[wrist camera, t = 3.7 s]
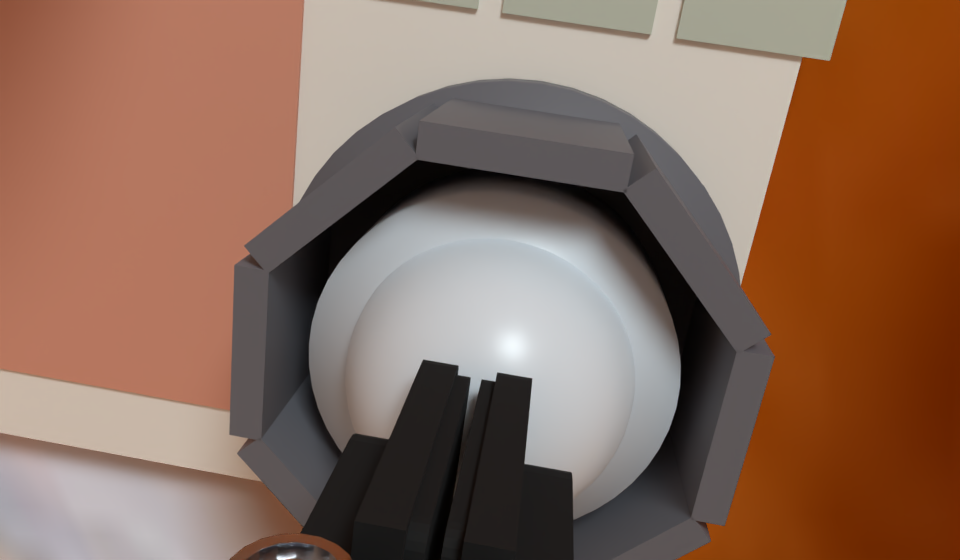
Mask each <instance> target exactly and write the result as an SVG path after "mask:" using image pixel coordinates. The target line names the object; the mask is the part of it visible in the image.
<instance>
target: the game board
mask: <svg viewBox="0 0 960 560" xmlns="http://www.w3.org/2000/svg"><path fill="white" fill-rule="evenodd" d="M846 1H847V0H0V433H4V434H9V435H15V436H20V437H25V438H31V439H36V440H41V441H47V442H52V443H57V444H63V445H68V446H73V447H79V448H84V449H90V450H95V451H100V452H106V453H111V454H116V455H122V456H127V457H132V458H138V459H143V460H148V461H154V462H159V463H164V464H170V465H175V466H180V467H186V468H191V469H196V470H202V471H207V472H212V473H218V474H223V475H228V476H234V477H239V478H244V479H250V480H255V481H261V482H263V483H264V484H265V485H266V486H267V488H268V489H269V490H270V491H271V492H272V493H273V494H274V495H275V496H276V497H277V499H278V500H279V501H280V502H281V503H282V504H283V505H284V506H285V507H286V509H287V510H288V511H289V512H290V513H291V514H292V515H293V516H294V517H295V518H296V520H297V521H298V522H299V523H300V524H301V525H302V526H303V527H304V526H305V524H306V522H307V520H308V518H309V516H310V514H311V512H312V510H313V508H314V506H315V504H316V502H317V501H318V499H319V497H320V495H321V493H322V491H323V489H324V487H325V485H326V483H327V481H328V479H329V477H330V476H331V474H332V472H333V470H334V468H335V466H336V464H337V462H338V460H339V458H340V456H341V454H342V452H341V451H340V449H339V448H338V447H337V445H336V443H335V441H334V440H333V438H332V436H331V435H330V433H329V431H328V430H327V428H326V426H325V423H324V421H323V419H322V416H321V414H320V412H319V409H318V406H317V403H316V399H315V396H314V392H313V389H312V383H311V376H310V369H309V340H310V333H311V326H312V320H313V317H314V314H315V310H316V307H317V303H318V300H319V298H320V296H321V294H322V292H323V289H324V287H325V285H326V283H327V281H328V279H329V278H330V276H331V274H332V273H333V271H334V270H335V268H336V267H337V265H338V264H339V262H340V261H341V260H342V258H343V257H344V256H345V255H346V254H347V253H348V252H349V250H350V249H351V248H352V247H353V246H354V245H355V244H356V243H357V242H358V241H359V239H360V238H361V237H362V236H363V235H364V234H365V233H366V232H367V231H368V230H369V229H370V228H371V227H372V226H373V225H374V224H375V223H376V222H377V221H378V220H379V219H380V218H381V216H382V215H383V214H384V213H385V212H386V211H387V210H389V209H390V208H391V207H392V206H393V205H394V204H396V203H397V202H398V201H399V200H400V199H401V198H403V197H404V196H406V195H407V194H409V193H411V192H412V191H414V190H415V189H417V188H418V187H420V186H422V185H424V184H426V183H429V182H431V181H433V180H435V179H437V178H439V177H443V176H446V175H449V174H452V173H455V172H459V171H464V170H470V169H479V170H485V171H492V172H498V173H504V174H511V175H517V176H523V177H529V178H536V179H542V180H548V181H555V182H561V183H567V184H574V185H577V186H579V187H581V188H583V189H585V190H587V191H589V192H590V193H592V194H593V195H594V196H596V197H597V198H599V199H600V200H601V201H603V202H604V203H606V204H607V205H608V206H609V207H610V208H612V209H613V210H614V211H615V212H616V213H617V214H618V215H619V216H620V217H621V218H622V219H623V220H624V221H625V222H626V223H627V225H628V226H629V227H630V228H631V229H632V231H633V232H634V233H635V234H636V235H637V237H638V238H639V240H640V242H641V243H642V245H643V247H644V248H645V250H646V252H647V253H648V255H649V257H650V259H651V262H652V264H653V266H654V269H655V271H656V273H657V276H658V279H659V282H660V285H661V288H662V291H663V294H664V296H665V299H666V302H667V305H668V308H669V311H670V314H671V317H672V320H673V324H674V328H675V331H676V335H677V339H678V345H679V353H680V361H681V373H680V390H679V396H678V401H677V407H676V411H675V414H674V417H673V420H672V423H671V426H670V429H669V431H668V433H667V435H666V437H665V439H664V441H663V443H662V445H661V447H660V449H659V450H658V452H657V453H656V455H655V456H654V458H653V459H652V460H651V462H650V463H649V465H648V466H647V468H646V469H645V470H644V471H643V472H642V473H641V474H640V475H639V476H638V477H637V478H636V479H635V481H634V482H633V483H632V484H631V485H629V486H628V487H627V488H626V489H625V490H623V491H622V492H621V493H620V494H619V495H617V496H616V497H615V498H613V499H612V500H610V501H609V502H607V503H605V504H604V505H602V506H601V507H599V508H598V509H596V510H594V511H592V512H590V513H587V514H585V515H583V516H581V517H579V518H577V519H574V520H573V542H574V560H675V559H677V558H679V557H681V556H683V555H685V554H687V553H689V552H691V551H693V550H695V549H697V548H699V547H701V546H703V545H705V544H707V543H709V542H711V539H710V536H709V532H708V528H707V525H706V523H711V524H717V525H722V526H725V523H726V520H727V516H728V513H729V509H730V506H731V503H732V499H733V496H734V493H735V489H736V486H737V482H738V479H739V476H740V472H741V469H742V466H743V462H744V459H745V455H746V452H747V449H748V445H749V442H750V439H751V435H752V432H753V428H754V425H755V422H756V418H757V415H758V412H759V408H760V405H761V402H762V398H763V395H764V391H765V388H766V385H767V381H768V378H769V375H770V371H771V368H772V364H773V361H774V358H775V356H774V355H773V353H772V352H771V350H770V348H769V347H768V345H767V343H766V342H765V340H764V339H765V338H766V337H768V336H770V335H771V333H770V332H769V330H768V329H767V327H766V326H765V324H764V322H763V321H762V319H761V318H760V316H759V315H758V313H757V312H756V310H755V308H754V307H753V305H752V304H751V302H750V301H749V299H748V298H747V296H746V294H745V293H744V291H743V290H742V288H741V287H740V286H741V282H742V279H743V275H744V271H745V267H746V264H747V260H748V256H749V253H750V249H751V245H752V242H753V238H754V234H755V230H756V227H757V223H758V219H759V216H760V212H761V208H762V205H763V201H764V197H765V193H766V190H767V186H768V182H769V179H770V175H771V171H772V167H773V164H774V160H775V156H776V153H777V149H778V145H779V142H780V138H781V134H782V130H783V127H784V123H785V119H786V116H787V112H788V108H789V105H790V101H791V97H792V93H793V90H794V86H795V82H796V79H797V75H798V71H799V68H800V64H801V60H802V57H808V58H815V59H822V60H828V61H830V58H831V54H832V51H833V47H834V44H835V40H836V37H837V33H838V30H839V26H840V22H841V19H842V15H843V12H844V8H845V5H846Z"/></svg>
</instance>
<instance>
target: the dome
mask: <svg viewBox="0 0 960 560" xmlns="http://www.w3.org/2000/svg"><path fill="white" fill-rule="evenodd" d="M423 359H424V360H429V361H435V362H441V363H447V364H452V365H458V366H459V370H458V375H461V376H466V377H471V380H470V388H469V395H468V402H467V408H466V415H465V422H464V428H463V435H462V442H461V449H460V455H459V462H458V469H457V475H456V482H455V489H456V485H457V481H458V477H459V472H460V468H461V464H462V460H463V456H464V451H465V447H466V443H467V439H468V434H469V430H470V426H471V422H472V418H473V413H474V409H475V405H476V401H477V396H478V392H479V388H480V384H481V380H482V379H483V380H489V381H496V376H497V372H499V373H504V374H510V375H516V376H522V377H527V378H532V389H531V399H530V410H529V421H528V431H527V442H526V452H525V463H524V464H529V465H535V466H540V467H546V468H551V469H557V470H562V471H568V472H571V473H572V478H573V520H574V519H577V518H579V517H581V516H583V515H585V514H587V513H590V512H592V511H594V510H596V509H598V508H599V507H601V506H602V505H604V504H605V503H607V502H609V501H610V500H612V499H613V498H615V497H616V496H617V495H619V494H620V493H621V492H622V491H623V490H625V489H626V488H627V487H628V486H629V485H631V484H632V483H633V482H634V481H635V479H636V478H637V477H638V476H639V475H640V474H641V473H642V472H643V471H644V470H645V469H646V468H647V466H648V465H649V463H650V462H651V460H652V459H653V458H654V456H655V455H656V453H657V452H658V450H659V449H660V447H661V445H662V443H663V441H664V439H665V437H666V435H667V433H668V431H669V429H670V426H671V423H672V420H673V417H674V414H675V411H676V407H677V401H678V396H679V390H680V373H681V361H680V353H679V345H678V339H677V335H676V331H675V328H674V324H673V320H672V317H671V314H670V311H669V308H668V305H667V302H666V299H665V296H664V294H663V291H662V288H661V285H660V282H659V279H658V276H657V273H656V271H655V269H654V266H653V264H652V262H651V259H650V257H649V255H648V253H647V252H646V250H645V248H644V247H643V245H642V243H641V242H640V240H639V238H638V237H637V235H636V234H635V233H634V232H633V231H632V229H631V228H630V227H629V226H628V225H627V223H626V222H625V221H624V220H623V219H622V218H621V217H620V216H619V215H618V214H617V213H616V212H615V211H614V210H613V209H612V208H610V207H609V206H608V205H607V204H606V203H604V202H603V201H601V200H600V199H599V198H597V197H596V196H594V195H593V194H592V193H590V192H589V191H587V190H585V189H583V188H581V187H579V186H577V185H574V184H567V183H561V182H555V181H548V180H542V179H536V178H529V177H523V176H517V175H511V174H504V173H498V172H492V171H485V170H479V169H470V170H464V171H459V172H455V173H452V174H449V175H446V176H443V177H439V178H437V179H435V180H433V181H431V182H429V183H426V184H424V185H422V186H420V187H418V188H417V189H415V190H414V191H412V192H411V193H409V194H407V195H406V196H404V197H403V198H401V199H400V200H399V201H398V202H397V203H396V204H394V205H393V206H392V207H391V208H390V209H389V210H387V211H386V212H385V213H384V214H383V215H382V216H381V218H380V219H379V220H378V221H377V222H376V223H375V224H374V225H373V226H372V227H371V228H370V229H369V230H368V231H367V232H366V233H365V234H364V235H363V236H362V237H361V238H360V239H359V241H358V242H357V243H356V244H355V245H354V246H353V247H352V248H351V249H350V250H349V252H348V253H347V254H346V255H345V256H344V257H343V258H342V260H341V261H340V262H339V264H338V265H337V267H336V268H335V270H334V271H333V273H332V274H331V276H330V278H329V279H328V281H327V283H326V285H325V287H324V289H323V292H322V294H321V296H320V298H319V300H318V303H317V307H316V310H315V314H314V317H313V320H312V326H311V333H310V340H309V369H310V376H311V383H312V389H313V392H314V396H315V399H316V403H317V406H318V409H319V412H320V414H321V416H322V419H323V421H324V423H325V426H326V428H327V430H328V431H329V433H330V435H331V436H332V438H333V440H334V441H335V443H336V445H337V447H338V448H339V449H340V451H341V452H342V453H343V451H344V449H345V447H346V445H347V443H348V441H349V439H350V438H351V436H352V435H353V434H355V433H357V434H362V435H368V436H373V437H379V438H385V439H389V438H390V436H391V433H392V431H393V429H394V426H395V424H396V421H397V419H398V417H399V414H400V412H401V410H402V407H403V405H404V403H405V400H406V398H407V396H408V393H409V391H410V389H411V386H412V384H413V382H414V379H415V377H416V374H417V372H418V370H419V367H420V365H421V363H422V361H423ZM455 489H454V493H455ZM453 498H454V496H453Z"/></svg>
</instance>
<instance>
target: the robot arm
mask: <svg viewBox="0 0 960 560" xmlns="http://www.w3.org/2000/svg"><path fill="white" fill-rule="evenodd" d="M458 370H459V366H458V365H452V364H447V363H441V362H435V361H429V360H424V359H423V361H422V363H421V365H420V367H419V370H418V372H417V374H416V377H415V379H414V382H413V384H412V386H411V389H410V391H409V393H408V396H407V398H406V400H405V403H404V405H403V407H402V410H401V412H400V414H399V417H398V419H397V421H396V424H395V426H394V429H393V431H392V433H391V436H390V438H389V439H385V438H379V437H373V436H368V435H362V434H357V433H355V434H353V435H352V436H351V438H350V439H349V441H348V443H347V445H346V447H345V449H344V451H343V453H342V454H341V456H340V458H339V460H338V462H337V464H336V466H335V468H334V470H333V472H332V474H331V476H330V477H329V479H328V481H327V483H326V485H325V487H324V489H323V491H322V493H321V495H320V497H319V499H318V501H317V502H316V504H315V506H314V508H313V510H312V512H311V514H310V516H309V518H308V520H307V522H306V524H305V526H304V527H303V529H302V531H301V533H300V534H280V535H275V536H271V537H267V538H262V539H260V540H258V541H256V542H254V543H252V544H249V545H247V546H245V547H244V548H242V549H241V550H240V551H239V552H238V553H236V554H235V555H234V556H233V557H232V558H231V559H230V560H574V542H573V478H572V473H571V472H568V471H562V470H557V469H551V468H546V467H540V466H535V465H529V464H524V463H525V452H526V442H527V431H528V421H529V410H530V399H531V389H532V378H527V377H522V376H516V375H510V374H504V373H499V372H497V376H496V381H489V380H483V379H482V380H481V384H480V388H479V392H478V396H477V401H476V405H475V409H474V413H473V418H472V422H471V426H470V430H469V434H468V439H467V443H466V447H465V451H464V456H463V460H462V464H461V468H460V472H459V477H458V481H457V485H456V489H455V482H456V475H457V469H458V462H459V455H460V449H461V442H462V435H463V428H464V422H465V415H466V408H467V402H468V395H469V388H470V380H471V377H466V376H461V375H458ZM454 489H455V493H454ZM453 496H454V498H453Z"/></svg>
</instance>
